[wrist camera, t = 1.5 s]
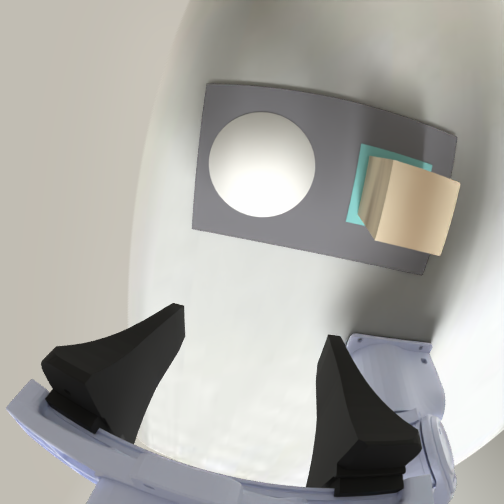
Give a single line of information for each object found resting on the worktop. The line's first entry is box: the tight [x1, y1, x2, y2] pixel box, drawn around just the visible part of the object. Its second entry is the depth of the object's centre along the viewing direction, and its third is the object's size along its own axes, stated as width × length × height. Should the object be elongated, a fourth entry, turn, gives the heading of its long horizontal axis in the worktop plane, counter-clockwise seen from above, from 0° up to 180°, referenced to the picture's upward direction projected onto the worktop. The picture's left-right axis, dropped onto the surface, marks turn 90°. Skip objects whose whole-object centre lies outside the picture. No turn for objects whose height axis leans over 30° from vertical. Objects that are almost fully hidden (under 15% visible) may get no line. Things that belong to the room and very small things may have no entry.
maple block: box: [358, 156, 460, 256], centre depth 16 cm, size 4×4×6 cm
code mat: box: [192, 84, 457, 275], centre depth 19 cm, size 20×12×1 cm, turn 83°
